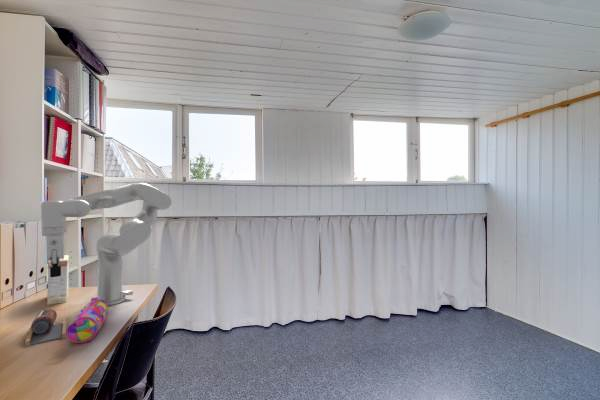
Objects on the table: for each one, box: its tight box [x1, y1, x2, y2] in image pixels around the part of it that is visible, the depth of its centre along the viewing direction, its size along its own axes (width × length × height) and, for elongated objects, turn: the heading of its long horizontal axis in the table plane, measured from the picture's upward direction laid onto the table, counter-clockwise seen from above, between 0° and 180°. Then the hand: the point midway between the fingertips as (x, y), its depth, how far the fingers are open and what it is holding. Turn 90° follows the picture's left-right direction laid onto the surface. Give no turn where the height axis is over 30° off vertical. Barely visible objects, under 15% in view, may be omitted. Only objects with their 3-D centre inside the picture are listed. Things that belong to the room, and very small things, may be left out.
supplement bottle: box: [30, 308, 58, 334], centre depth 102 cm, size 6×6×11 cm
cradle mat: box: [24, 319, 68, 347], centre depth 100 cm, size 10×14×2 cm
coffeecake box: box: [46, 254, 70, 305], centre depth 135 cm, size 15×7×20 cm, turn 36°
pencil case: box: [66, 296, 110, 344], centre depth 103 cm, size 22×9×9 cm, turn 27°
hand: (55, 276), depth 115 cm, fingers closed
